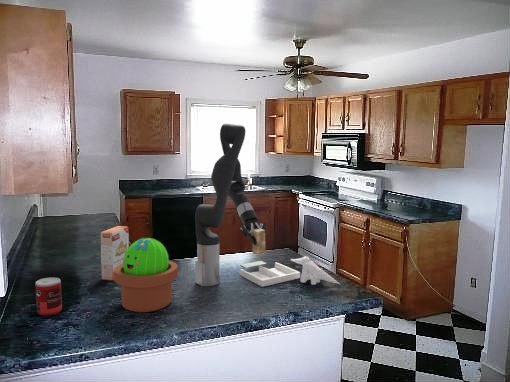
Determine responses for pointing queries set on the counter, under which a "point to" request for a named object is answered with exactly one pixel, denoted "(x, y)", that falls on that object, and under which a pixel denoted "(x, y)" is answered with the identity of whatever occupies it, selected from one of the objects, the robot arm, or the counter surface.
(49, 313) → the canned food
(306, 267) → the dinosaur statue
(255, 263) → the sage mat
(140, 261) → the potted cactus
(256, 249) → the oak block
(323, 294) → the counter surface
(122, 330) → the counter surface
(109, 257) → the cracker box
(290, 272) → the tray
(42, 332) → the counter surface
